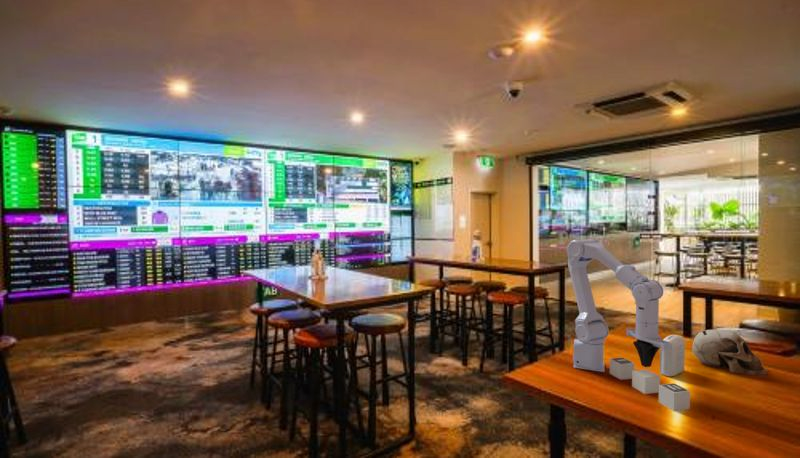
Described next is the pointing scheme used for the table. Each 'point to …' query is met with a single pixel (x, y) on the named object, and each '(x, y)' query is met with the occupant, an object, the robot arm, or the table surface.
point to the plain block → (645, 381)
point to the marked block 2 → (674, 397)
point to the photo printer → (673, 356)
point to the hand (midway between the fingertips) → (646, 366)
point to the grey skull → (726, 352)
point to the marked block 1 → (621, 368)
